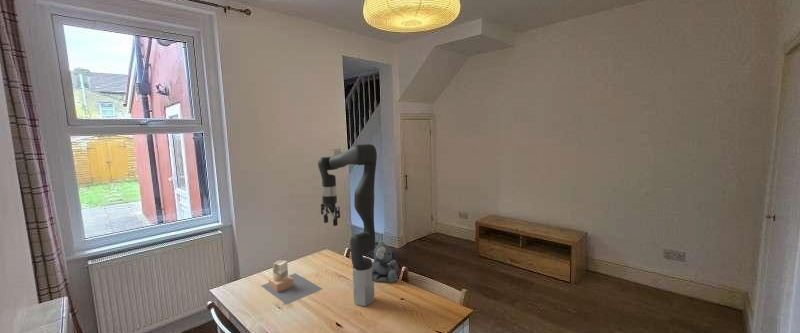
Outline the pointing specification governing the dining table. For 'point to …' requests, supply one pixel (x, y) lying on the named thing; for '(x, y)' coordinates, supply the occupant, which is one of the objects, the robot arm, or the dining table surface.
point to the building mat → (294, 289)
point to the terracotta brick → (280, 284)
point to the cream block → (280, 270)
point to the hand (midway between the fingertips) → (330, 224)
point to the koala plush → (384, 264)
